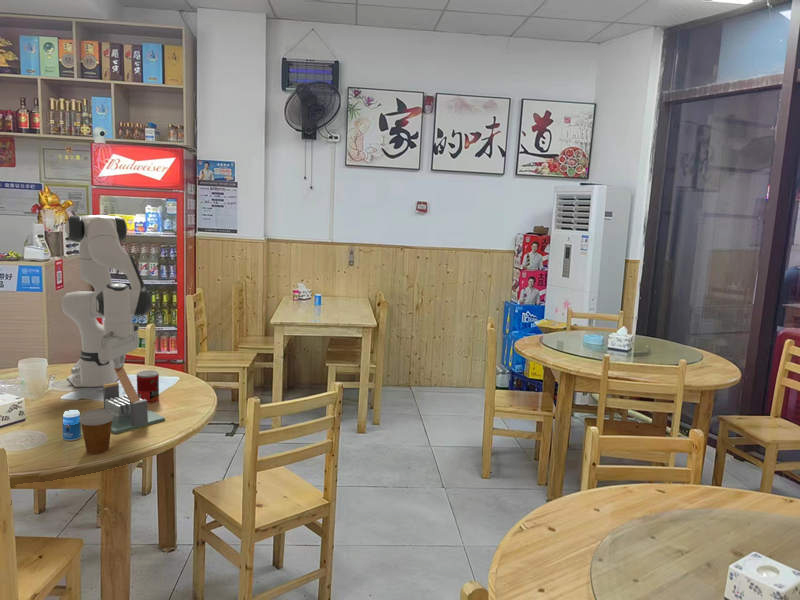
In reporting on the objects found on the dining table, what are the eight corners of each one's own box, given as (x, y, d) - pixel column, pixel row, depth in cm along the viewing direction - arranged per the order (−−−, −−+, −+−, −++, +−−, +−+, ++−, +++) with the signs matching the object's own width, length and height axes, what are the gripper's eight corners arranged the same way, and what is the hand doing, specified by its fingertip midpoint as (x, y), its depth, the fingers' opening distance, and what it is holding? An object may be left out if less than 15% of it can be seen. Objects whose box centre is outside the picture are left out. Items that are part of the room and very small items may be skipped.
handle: (112, 370, 211) (114, 367, 210) (121, 369, 213) (122, 366, 212) (132, 408, 204) (133, 405, 204) (140, 406, 207) (141, 403, 206)
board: (82, 415, 212) (81, 387, 211) (130, 404, 226) (130, 377, 225) (115, 433, 198) (114, 403, 196) (165, 420, 212) (164, 391, 210)
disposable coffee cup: (111, 455, 181) (110, 418, 180) (77, 457, 179) (75, 420, 177) (117, 443, 190) (116, 407, 189) (84, 445, 188) (82, 409, 186)
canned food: (154, 403, 228) (153, 376, 226) (133, 402, 228) (132, 375, 226) (162, 397, 236) (161, 371, 234) (142, 396, 236) (142, 369, 234)
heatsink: (104, 416, 210) (103, 399, 210) (131, 409, 218) (131, 393, 217) (118, 423, 204) (117, 406, 204) (145, 416, 212) (145, 400, 211)
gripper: (110, 336, 198) (111, 376, 200) (141, 324, 218) (142, 361, 220) (92, 335, 198) (93, 374, 200) (125, 323, 218) (126, 359, 221)
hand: (119, 367), depth 210 cm, fingers closed
